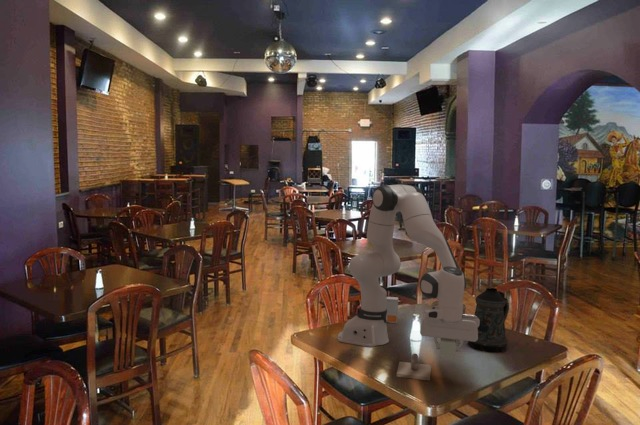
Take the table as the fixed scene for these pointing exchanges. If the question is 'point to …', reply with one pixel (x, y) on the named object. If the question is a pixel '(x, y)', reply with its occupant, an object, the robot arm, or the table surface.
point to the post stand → (414, 369)
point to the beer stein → (491, 321)
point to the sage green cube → (447, 348)
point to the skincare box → (392, 309)
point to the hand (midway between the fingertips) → (447, 349)
